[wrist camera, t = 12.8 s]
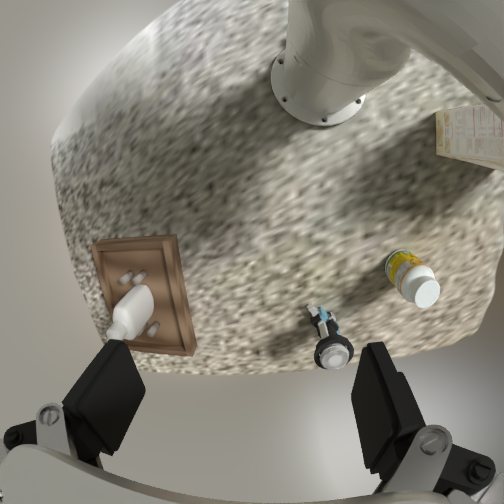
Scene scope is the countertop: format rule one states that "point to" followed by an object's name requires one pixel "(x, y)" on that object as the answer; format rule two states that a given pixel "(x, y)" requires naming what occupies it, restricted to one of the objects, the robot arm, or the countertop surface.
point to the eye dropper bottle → (131, 313)
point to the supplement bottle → (412, 278)
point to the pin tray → (158, 281)
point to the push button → (330, 341)
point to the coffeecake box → (471, 135)
